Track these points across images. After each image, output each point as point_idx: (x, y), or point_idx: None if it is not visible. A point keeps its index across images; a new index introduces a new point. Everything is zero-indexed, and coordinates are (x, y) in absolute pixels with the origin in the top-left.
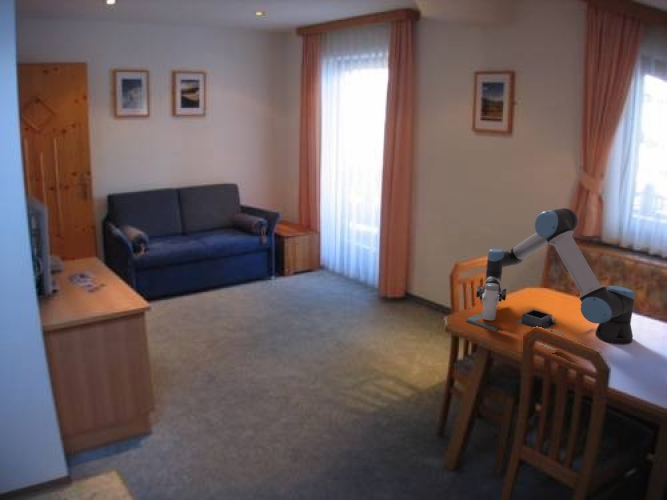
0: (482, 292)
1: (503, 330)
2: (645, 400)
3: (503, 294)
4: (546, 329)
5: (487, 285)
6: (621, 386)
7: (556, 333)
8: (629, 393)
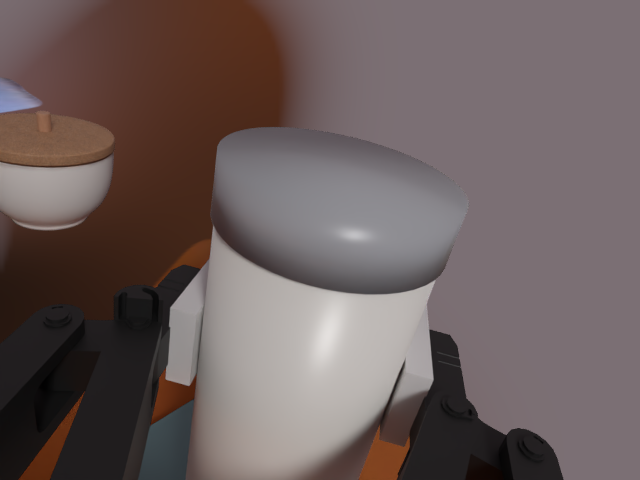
0: (445, 419)
1: (164, 405)
2: (13, 84)
3: (63, 338)
4: (34, 145)
5: (419, 171)
6: (9, 103)
7: (19, 124)
8: (22, 95)
